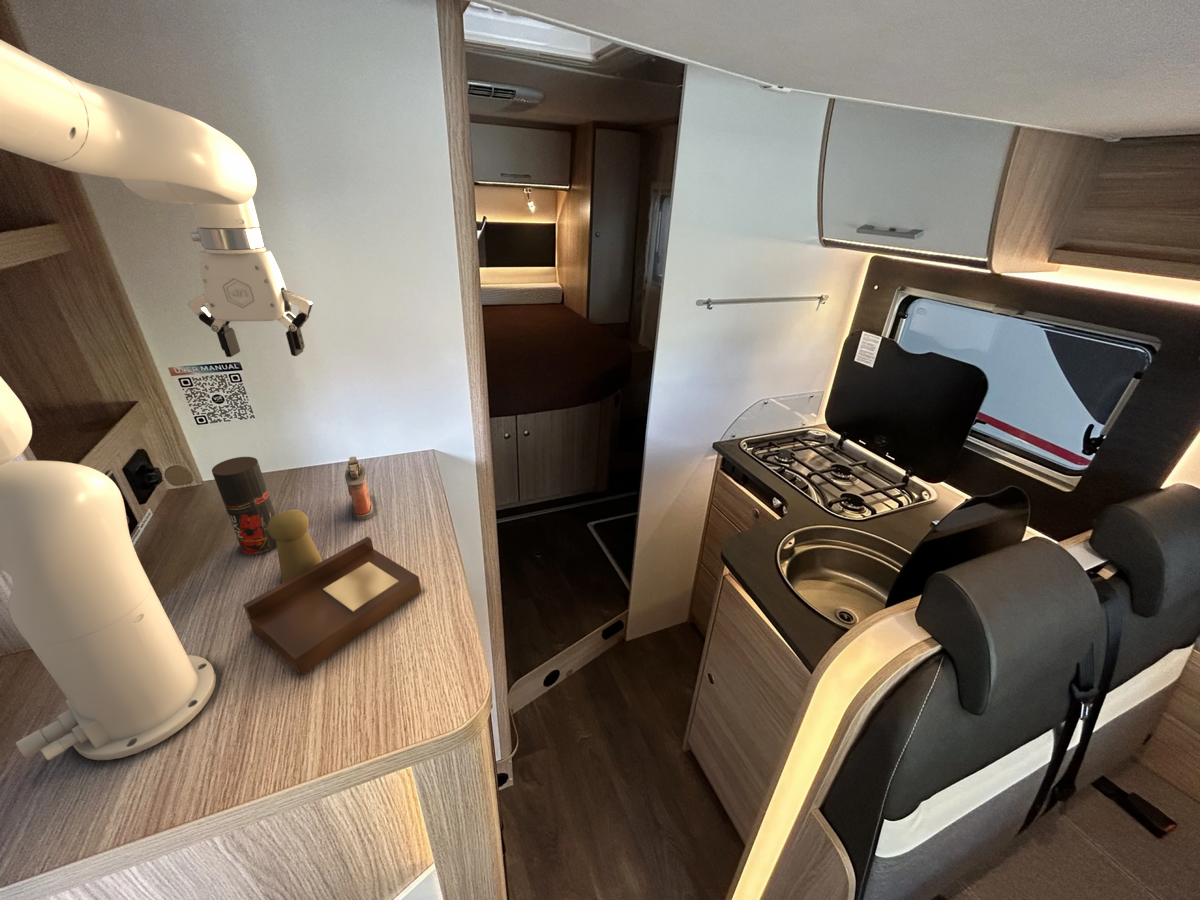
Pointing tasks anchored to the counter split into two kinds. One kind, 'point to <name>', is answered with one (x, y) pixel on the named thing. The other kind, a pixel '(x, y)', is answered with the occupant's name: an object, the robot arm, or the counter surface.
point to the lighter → (358, 489)
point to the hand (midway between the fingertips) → (266, 354)
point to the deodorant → (246, 502)
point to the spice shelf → (330, 604)
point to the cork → (293, 543)
